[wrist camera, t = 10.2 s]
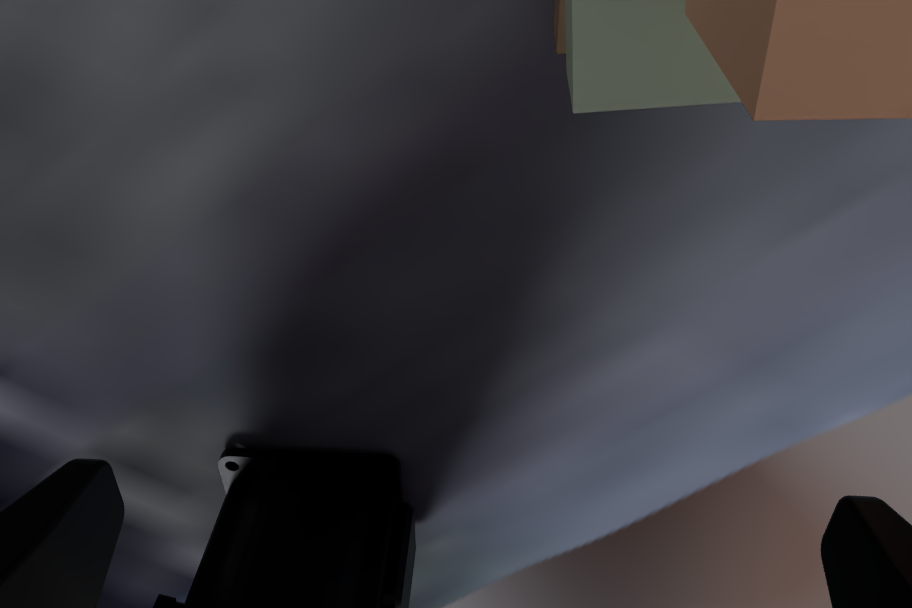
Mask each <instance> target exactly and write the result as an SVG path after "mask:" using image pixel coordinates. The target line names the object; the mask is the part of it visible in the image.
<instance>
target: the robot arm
mask: <svg viewBox="0 0 912 608" xmlns="http://www.w3.org/2000/svg"><path fill="white" fill-rule="evenodd" d="M218 466H219V470H220V474H221V478H222V482H223V485H224V489H225V493H226V497H225V499H224V502H223V505H222V507H221V510H220V513H219V515H218V518H217V520H216V523H215V526H214V528H213V531H212V533H211V536H210V539H209V541H208V544H207V546H206V549H205V552H204V554H203V557H202V559H201V562H200V565H199V567H198V570H197V573H196V575H195V578H194V580H193V583H192V586H191V588H190V591H189V593H188V596H187V599H186V601H185V603H181V602H177V601H176V598H174V597H170V596H167V595H163V594H159V595H158V597H157V599H156V602H155V604H154V606H153V608H409V601H410V593H411V585H412V576H413V568H414V560H415V551H416V544H415V524H414V509H413V507H412V506H411V505H410V504H409V503H403V492H402V476H401V464H400V461H399V460H398V459H397V458H395V457H393V456H391V455H382V454H358V453H335V452H312V451H289V450H266V449H242V448H229V449H226V450H224V451H223V453H222V454H221V457H220V459H219V462H218ZM383 468H388V469H383ZM123 519H124V503H123V499H122V497H121V494H120V491H119V488H118V485H117V482H116V479H115V476H114V473H113V470H112V468H111V466H110V464H109V463H108V462H107V461H105V460H100V459H73V460H71V461H69V462H68V463H66V464H65V465H63V466H62V467H60V468H59V469H58V470H56V471H55V472H54V473H52V474H51V475H50V476H48V477H47V478H45V479H44V480H43V481H41V482H40V483H39V484H37V485H36V486H34V487H33V488H32V489H30V490H29V491H28V492H26V493H25V494H24V495H22V496H21V497H19V498H18V499H17V500H15V501H14V502H13V503H11V504H10V505H9V506H7V507H6V508H4V509H3V510H2V511H0V608H96V607H97V604H98V601H99V598H100V594H101V591H102V588H103V585H104V582H105V578H106V575H107V572H108V569H109V565H110V562H111V559H112V556H113V553H114V549H115V546H116V543H117V540H118V536H119V533H120V530H121V527H122V523H123ZM821 558H822V563H823V568H824V572H825V576H826V581H827V586H828V590H829V595H830V599H831V604H832V608H912V525H911V524H910V523H908V522H907V521H906V520H905V519H904V518H903V517H901V516H900V515H899V514H898V513H897V512H896V511H894V510H893V509H892V508H891V507H890V506H889V505H888V504H886V503H885V502H884V501H882V500H881V499H879V498H876V497H867V496H844V497H842V498H841V499H840V500H839V501H838V503H837V505H836V507H835V510H834V512H833V514H832V516H831V519H830V521H829V523H828V526H827V528H826V530H825V533H824V535H823V538H822V541H821Z"/></svg>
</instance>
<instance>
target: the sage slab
mask: <svg viewBox="0 0 912 608" xmlns="http://www.w3.org/2000/svg"><path fill="white" fill-rule="evenodd" d="M685 6H686V0H565V14H566V72H567V78H568V84H569V91H570V97H571V103H572V109H573V113H587V112H602V111H617V110H631V109H646V108H661V107H675V106H690V105H704V104H719V103H734V102H741V100H740V98H739V97H738V95H737V94H736V92H735V91H734V89H733V88H732V86H731V85H730V83H729V81H728V80H727V78H726V77H725V75H724V74H723V72H722V71H721V69H720V67H719V66H718V64H717V63H716V61H715V60H714V58H713V57H712V55H711V53H710V52H709V50H708V49H707V47H706V46H705V44H704V43H703V41H702V39H701V38H700V36H699V35H698V33H697V32H696V30H695V29H694V27H693V26H692V24H691V22H690V21H689V19H688V18H687V16H686V15H685Z"/></svg>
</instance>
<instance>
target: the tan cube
mask: <svg viewBox="0 0 912 608" xmlns="http://www.w3.org/2000/svg"><path fill="white" fill-rule="evenodd" d="M685 15H686V16H687V18H688V19H689V21H690V22H691V24H692V26H693V27H694V29H695V30H696V32H697V33H698V35H699V36H700V38H701V39H702V41H703V43H704V44H705V46H706V47H707V49H708V50H709V52H710V53H711V55H712V57H713V58H714V60H715V61H716V63H717V64H718V66H719V67H720V69H721V71H722V72H723V74H724V75H725V77H726V78H727V80H728V81H729V83H730V85H731V86H732V88H733V89H734V91H735V92H736V94H737V95H738V97H739V98H740V100H741V102H742V103H743V105H744V106H745V108H746V109H747V111H748V112H749V114H750V116H751V117H752V119H753V120H754V121H762V120H828V119H893V118H912V0H686V6H685Z"/></svg>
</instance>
